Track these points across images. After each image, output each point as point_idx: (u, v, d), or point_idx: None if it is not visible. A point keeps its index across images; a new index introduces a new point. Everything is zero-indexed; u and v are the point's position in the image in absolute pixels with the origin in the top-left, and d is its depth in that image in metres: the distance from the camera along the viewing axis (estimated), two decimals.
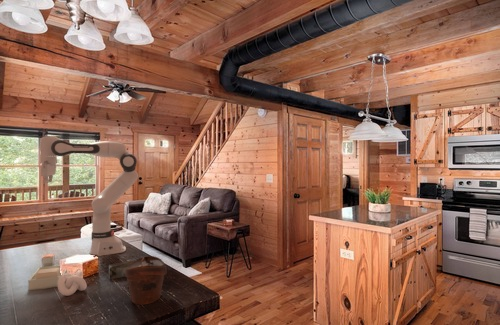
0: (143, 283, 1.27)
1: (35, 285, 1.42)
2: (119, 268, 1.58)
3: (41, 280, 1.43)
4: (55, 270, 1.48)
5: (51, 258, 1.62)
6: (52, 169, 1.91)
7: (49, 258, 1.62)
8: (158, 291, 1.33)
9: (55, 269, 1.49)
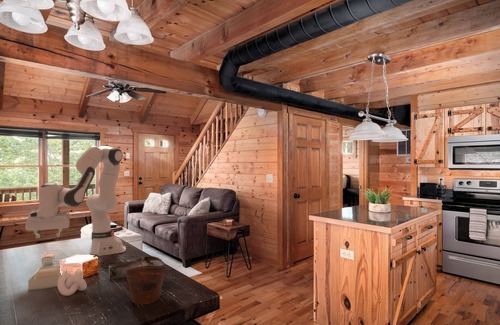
0: (143, 283, 1.27)
1: (35, 285, 1.42)
2: (119, 268, 1.58)
3: (41, 280, 1.43)
4: (55, 270, 1.48)
5: (51, 258, 1.62)
6: None
7: (49, 258, 1.62)
8: (158, 291, 1.33)
9: (55, 269, 1.49)
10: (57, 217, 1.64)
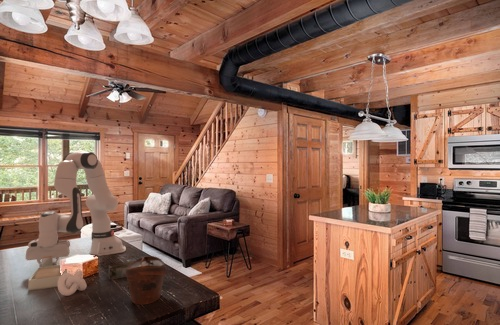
0: (143, 283, 1.27)
1: (35, 285, 1.42)
2: (119, 268, 1.57)
3: (41, 280, 1.43)
4: (55, 270, 1.48)
5: (51, 258, 1.62)
6: None
7: (49, 258, 1.62)
8: (158, 291, 1.33)
9: (55, 269, 1.49)
10: (57, 246, 1.64)
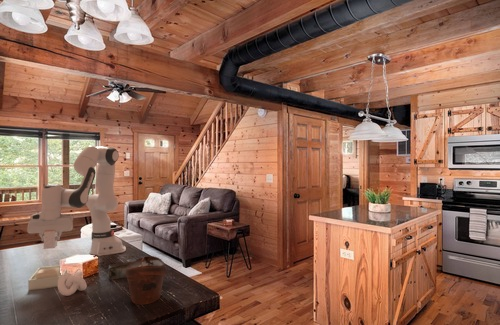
0: (143, 283, 1.27)
1: (35, 285, 1.42)
2: (118, 269, 1.57)
3: (41, 280, 1.43)
4: (55, 270, 1.48)
5: (54, 232, 1.55)
6: None
7: (52, 232, 1.55)
8: (158, 291, 1.33)
9: (55, 269, 1.49)
10: (60, 219, 1.57)
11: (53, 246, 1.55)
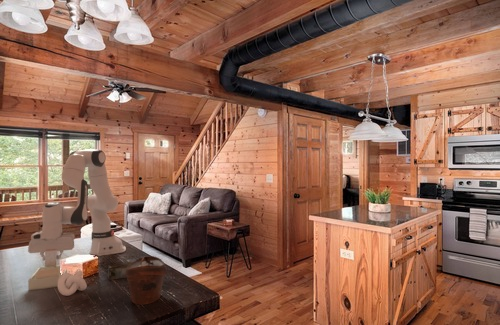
0: (143, 283, 1.27)
1: (35, 285, 1.42)
2: (118, 269, 1.57)
3: (41, 280, 1.43)
4: (55, 270, 1.48)
5: (55, 251, 1.54)
6: None
7: (53, 251, 1.54)
8: (158, 291, 1.33)
9: (55, 269, 1.49)
10: (61, 238, 1.56)
11: (54, 265, 1.54)
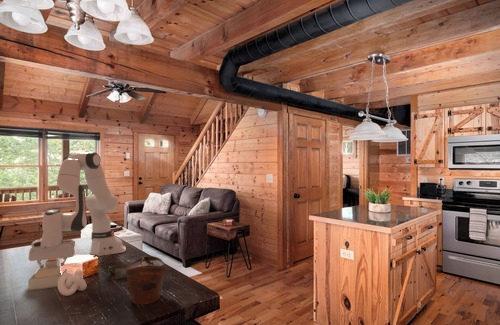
0: (143, 283, 1.27)
1: (35, 285, 1.42)
2: (118, 269, 1.57)
3: (41, 280, 1.43)
4: (55, 270, 1.48)
5: (55, 262, 1.54)
6: None
7: (53, 262, 1.54)
8: (158, 291, 1.33)
9: (55, 269, 1.49)
10: (62, 246, 1.56)
11: None
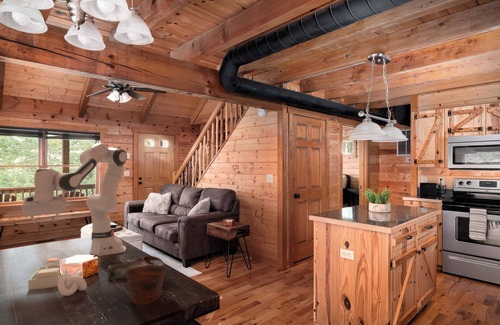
0: (143, 283, 1.27)
1: (35, 285, 1.42)
2: (118, 269, 1.56)
3: (41, 280, 1.43)
4: (55, 270, 1.48)
5: (55, 262, 1.54)
6: None
7: (53, 262, 1.54)
8: (158, 291, 1.33)
9: (55, 269, 1.49)
10: (54, 202, 1.63)
11: None
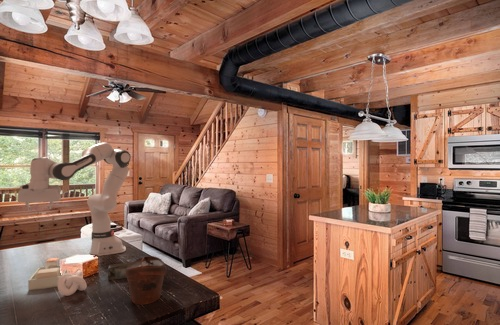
0: (143, 283, 1.27)
1: (35, 285, 1.42)
2: (117, 269, 1.56)
3: (41, 280, 1.43)
4: (55, 270, 1.48)
5: (55, 262, 1.54)
6: None
7: (53, 262, 1.54)
8: (158, 291, 1.33)
9: (55, 269, 1.49)
10: (48, 190, 1.68)
11: None
